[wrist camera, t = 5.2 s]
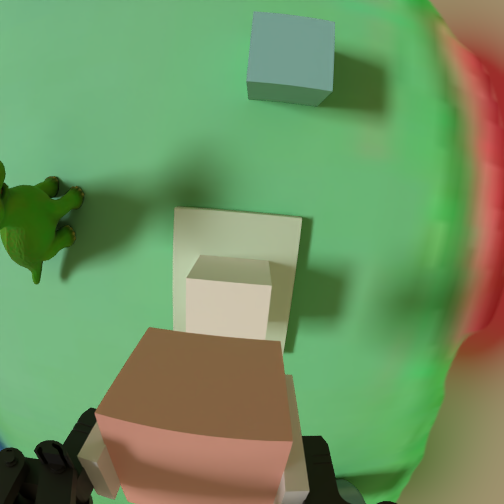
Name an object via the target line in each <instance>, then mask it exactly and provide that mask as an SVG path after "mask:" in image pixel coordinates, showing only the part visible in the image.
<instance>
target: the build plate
mask: <svg viewBox="0 0 504 504" xmlns="http://www.w3.org/2000/svg"><path fill="white" fill-rule="evenodd" d="M301 225H302V218H301V217H300V216H290V215H280V214H269V213H258V212H247V211H235V210H222V209H209V208H195V207H181V206H177V207H175V208H174V235H173V331H180V332H188V333H196V334H205V335H214V336H224V337H235V338H246V339H258V340H272V341H281V348H282V356H283V352H284V346H285V339H286V333H287V327H288V320H289V314H290V307H291V300H292V293H293V286H294V279H295V272H296V264H297V257H298V249H299V241H300V233H301Z"/></svg>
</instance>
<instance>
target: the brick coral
mask: <svg viewBox="0 0 504 504" xmlns="http://www.w3.org/2000/svg"><path fill="white" fill-rule="evenodd" d="M95 416H96V420H97V423H98V426H99V429H100V432H101V435H102V438H103V441H104V444H105V445H106V447H107V450H108V453H109V455H110V458H111V461H112V463H113V466H114V468H115V471H116V473H117V476H118V478H119V481H120V483H121V487H122V489H123V492H124V494H125V496H126V498H127V500H128V502H132V503H135V504H273V503H274V500H275V497H276V494H277V491H278V488H279V485H280V481H281V478H282V475H283V471H285V467H286V464H287V461H288V457H289V454H290V450H291V447H292V443H293V437H292V429H291V421H290V412H289V404H288V396H287V388H286V380H285V372H284V364H283V356H282V348H281V341H272V340H258V339H246V338H235V337H224V336H214V335H205V334H196V333H188V332H180V331H172V330H165V329H158V328H151V327H149V328H148V329H147V331H146V332H145V334H144V335H143V337H142V338H141V340H140V341H139V343H138V345H137V346H136V348H135V349H134V351H133V352H132V354H131V355H130V357H129V358H128V360H127V361H126V363H125V365H124V366H123V368H122V369H121V371H120V372H119V374H118V376H117V377H116V379H115V380H114V382H113V384H112V385H111V387H110V388H109V390H108V392H107V393H106V395H105V396H104V398H103V400H102V401H101V403H100V404H99V406H98V408H97V409H96V411H95Z"/></svg>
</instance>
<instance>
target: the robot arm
mask: <svg viewBox="0 0 504 504" xmlns="http://www.w3.org/2000/svg"><path fill="white" fill-rule="evenodd" d="M285 380H286V388H287V396H288V404H289V412H290V421H291V429H292V437H293V443H292V447H291V450H290V454H289V457H288V461H287V464H286V467H285V471H283V475H282V478H281V481H280V485H279V488H278V491H277V494H276V497H275V500H274V503H273V504H351V503H349V502H347V501H345V500H344V499H343V498H342V497H341V496H340V494H339V491H338V487H337V483H336V478H335V473H334V469H333V464H332V460H331V456H330V451H329V447H328V444H327V443H326V441H325V440H324V439H323V438H322V436H302V435H301V428H300V422H299V415H298V409H297V402H296V396H295V389H294V383H293V377H292V375H285ZM95 411H96V409H95V408H90V409H88V410H87V411H85V412H84V413H83V414H82V415H81V417H80V418H79V420H78V421H77V423H76V424H75V426H74V428H73V430H72V431H71V432H70V434H69V436H68V437H67V439H66V441H65V442H64V444H63V445H62V444H61V443H59V442H57V441H53V440H46V441H43V442H41V443H40V444H38V445H37V446H36V448H35V450H34V452H35V453H36V455H37V457H38V458H39V459H33V458H27V457H24V455H23V454H22V452H21V451H19V450H18V449H16V448H12V447H11V448H5V449H3V450H1V451H0V504H93V500H92V496H91V493H92V490H93V488H94V489H95V491H96V493H97V494H98V495H101V496H104V497H107V498H110V499H114V500H115V498H116V495H117V492H118V490H119V487H120V485H121V483H120V481H119V478H118V476H117V473H116V471H115V468H114V466H113V463H112V461H111V458H110V455H109V453H108V450H107V447H106V445H105V444H104V441H103V438H102V435H101V432H100V429H99V426H98V423H97V420H96V416H95ZM377 504H397V503H394V502H391V501H383V502H380V503H377Z"/></svg>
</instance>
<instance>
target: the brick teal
mask: <svg viewBox="0 0 504 504" xmlns="http://www.w3.org/2000/svg"><path fill="white" fill-rule="evenodd" d="M334 44H335V22H332V21H327V20H322V19H316V18H309V17H303V16H295V15H287V14H278V13H267V12H254V13H253V22H252V31H251V41H250V51H249V60H248V70H247V80H246V82H247V91H248V99H252V100H264V101H275V102H284V103H293V104H301V105H308V106H315V107H317V106H318V105H319V104H320V103H321V102H322V101H323V100H324V99H325V98H326V97H327V96H328V95H329V94H330V93H331V92H333V72H334Z"/></svg>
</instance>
